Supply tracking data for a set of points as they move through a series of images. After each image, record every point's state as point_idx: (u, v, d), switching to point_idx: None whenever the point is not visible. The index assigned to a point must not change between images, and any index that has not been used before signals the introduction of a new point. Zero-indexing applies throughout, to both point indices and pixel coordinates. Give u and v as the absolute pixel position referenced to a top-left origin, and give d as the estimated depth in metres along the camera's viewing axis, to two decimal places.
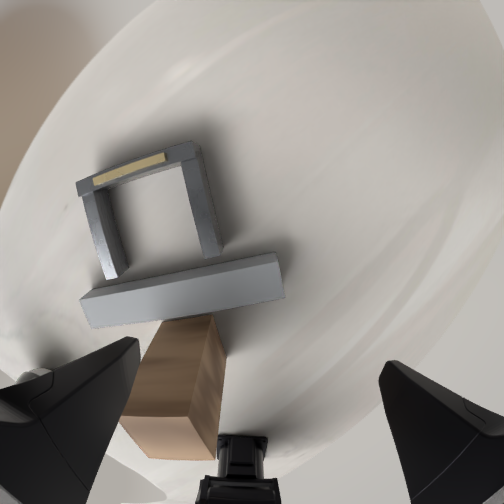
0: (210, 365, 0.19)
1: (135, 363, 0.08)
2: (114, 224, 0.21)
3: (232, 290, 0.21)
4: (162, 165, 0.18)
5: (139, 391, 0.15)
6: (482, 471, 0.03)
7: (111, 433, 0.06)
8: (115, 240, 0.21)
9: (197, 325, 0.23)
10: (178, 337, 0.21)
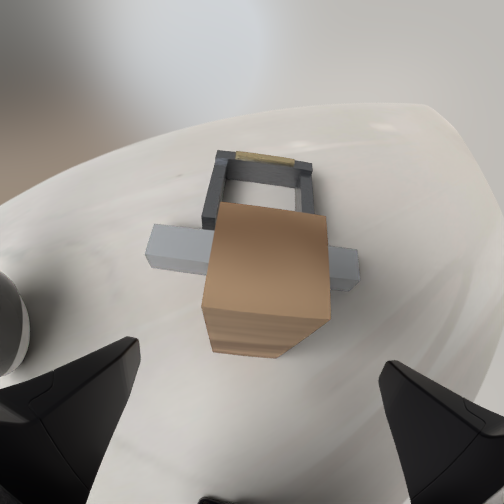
0: None
1: (135, 363, 0.08)
2: (221, 198, 0.27)
3: None
4: (290, 166, 0.27)
5: None
6: (482, 471, 0.03)
7: (111, 433, 0.06)
8: (219, 204, 0.26)
9: None
10: None
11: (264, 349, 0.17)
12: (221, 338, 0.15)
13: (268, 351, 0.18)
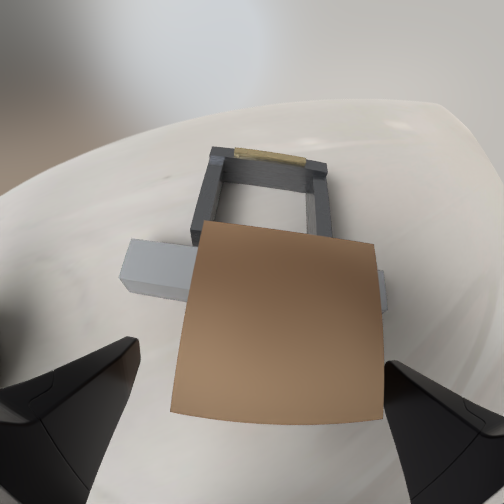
0: None
1: (135, 363, 0.08)
2: (217, 205, 0.22)
3: None
4: (300, 166, 0.22)
5: None
6: (482, 471, 0.03)
7: (111, 433, 0.06)
8: (214, 213, 0.21)
9: None
10: None
11: None
12: None
13: None
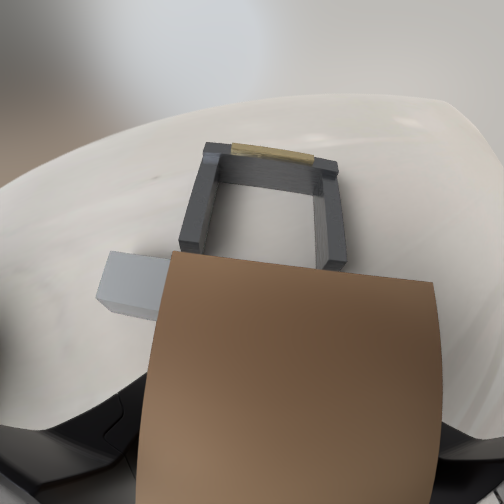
0: None
1: None
2: (211, 210, 0.19)
3: None
4: (307, 165, 0.19)
5: None
6: (431, 497, 0.03)
7: None
8: (208, 219, 0.18)
9: None
10: None
11: None
12: None
13: None
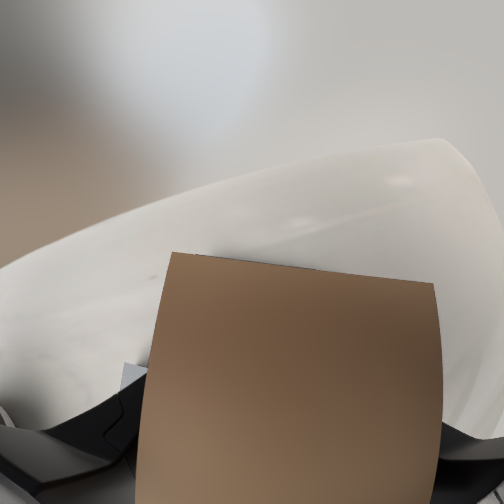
0: None
1: None
2: None
3: None
4: None
5: None
6: (431, 497, 0.03)
7: None
8: None
9: None
10: None
11: None
12: None
13: None
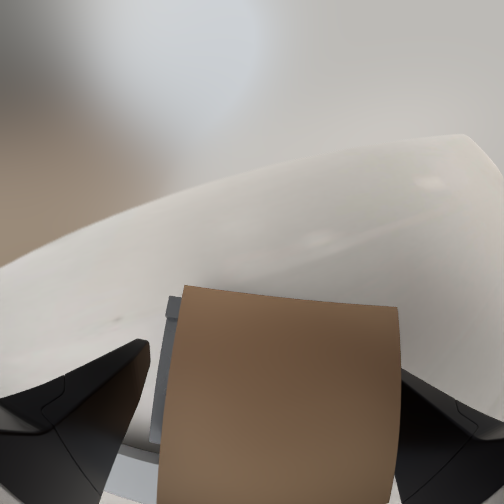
0: None
1: (145, 365, 0.08)
2: None
3: None
4: None
5: None
6: (474, 476, 0.03)
7: (122, 437, 0.06)
8: None
9: None
10: None
11: None
12: None
13: None
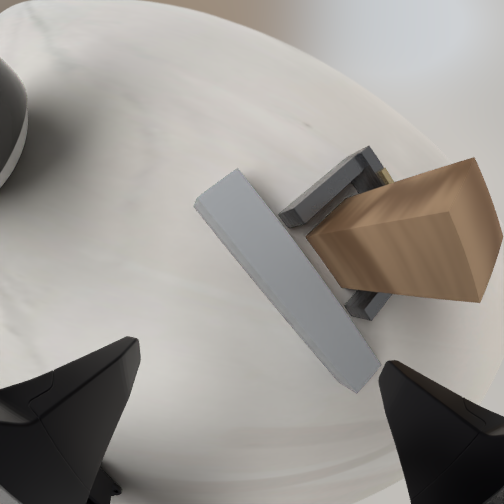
0: None
1: (135, 363, 0.08)
2: None
3: (348, 351, 0.18)
4: None
5: None
6: (482, 471, 0.03)
7: (111, 433, 0.06)
8: None
9: None
10: None
11: (364, 275, 0.17)
12: (366, 237, 0.14)
13: (360, 279, 0.17)
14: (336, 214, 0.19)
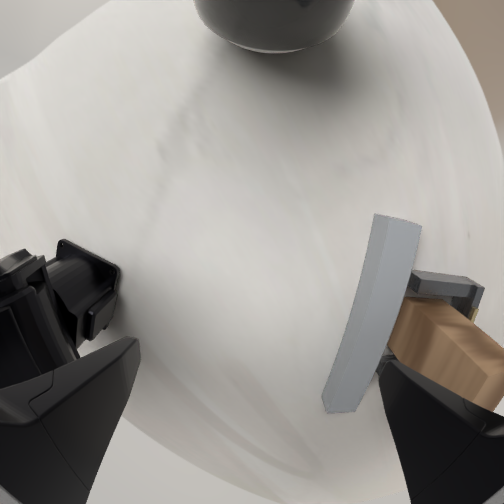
0: None
1: (135, 363, 0.08)
2: None
3: (354, 384, 0.21)
4: None
5: None
6: (482, 471, 0.03)
7: (111, 433, 0.06)
8: None
9: None
10: None
11: (411, 354, 0.18)
12: (438, 339, 0.15)
13: (406, 353, 0.19)
14: (431, 304, 0.20)
